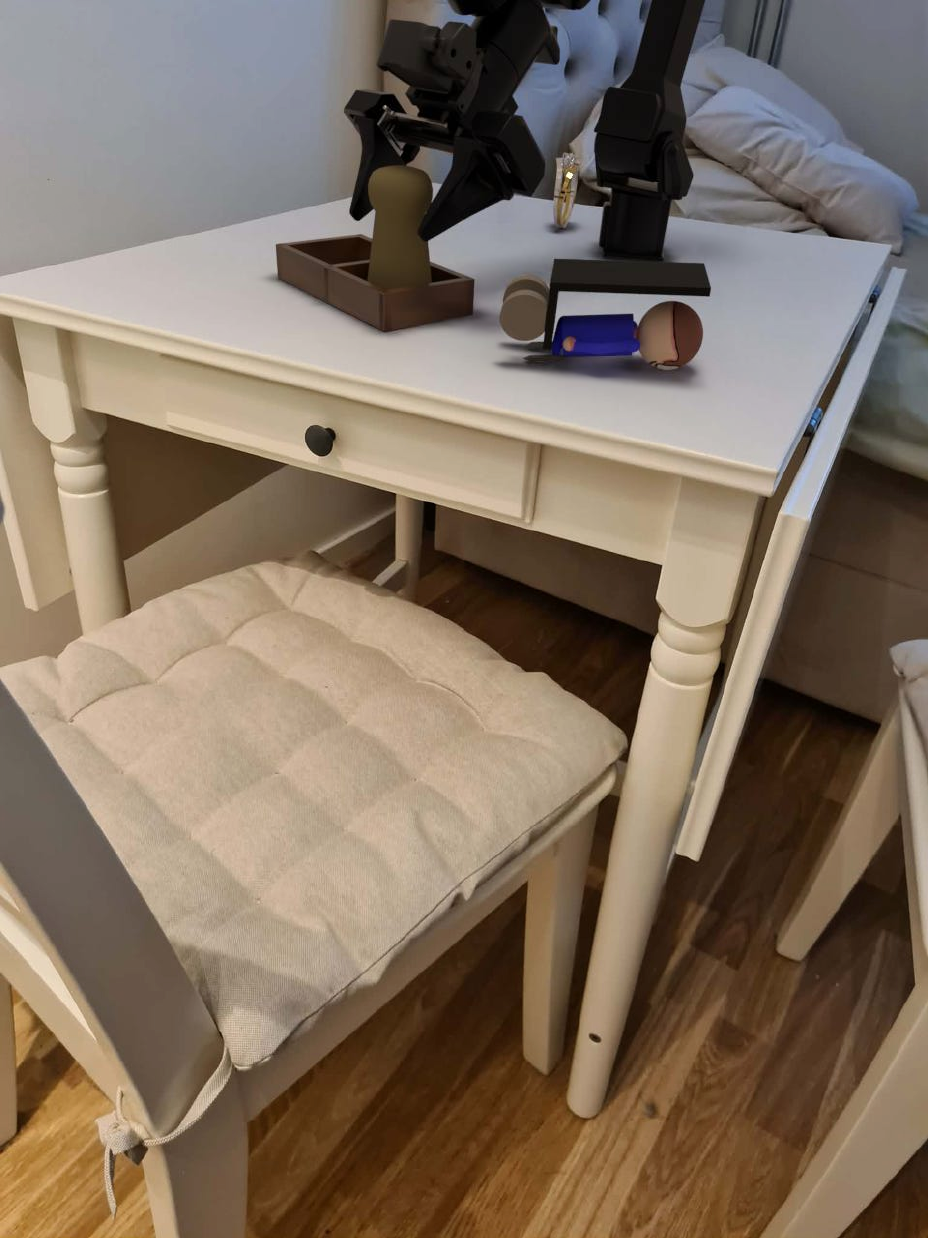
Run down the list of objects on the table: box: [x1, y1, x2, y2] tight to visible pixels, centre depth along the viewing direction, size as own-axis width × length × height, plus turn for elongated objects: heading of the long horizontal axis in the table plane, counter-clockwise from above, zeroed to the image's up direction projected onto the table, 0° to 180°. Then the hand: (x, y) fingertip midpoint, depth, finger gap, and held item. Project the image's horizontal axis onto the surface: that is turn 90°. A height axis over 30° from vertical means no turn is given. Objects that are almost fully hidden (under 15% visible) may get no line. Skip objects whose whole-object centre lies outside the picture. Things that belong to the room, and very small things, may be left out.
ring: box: [552, 151, 583, 229], centre depth 103 cm, size 7×3×8 cm, turn 157°
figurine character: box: [498, 258, 712, 371], centre depth 66 cm, size 7×8×15 cm
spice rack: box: [275, 233, 476, 332], centre depth 78 cm, size 9×18×3 cm, turn 38°
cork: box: [368, 165, 434, 290], centre depth 73 cm, size 6×6×11 cm
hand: (386, 227), depth 72 cm, fingers open, 8 cm apart
